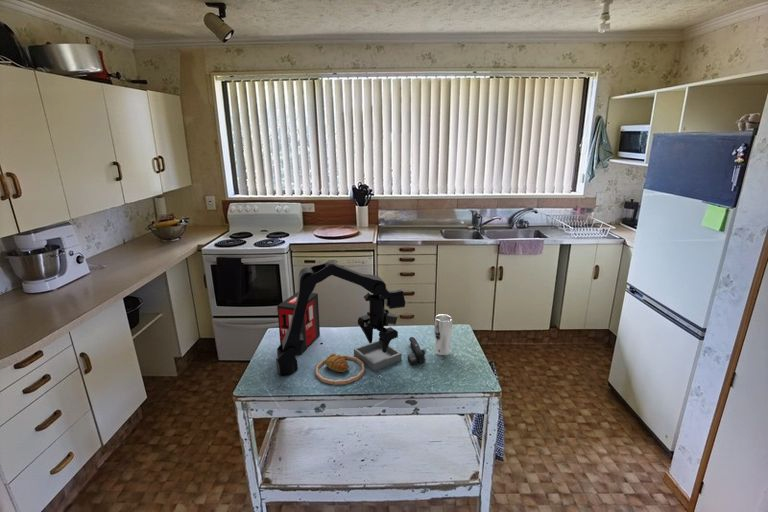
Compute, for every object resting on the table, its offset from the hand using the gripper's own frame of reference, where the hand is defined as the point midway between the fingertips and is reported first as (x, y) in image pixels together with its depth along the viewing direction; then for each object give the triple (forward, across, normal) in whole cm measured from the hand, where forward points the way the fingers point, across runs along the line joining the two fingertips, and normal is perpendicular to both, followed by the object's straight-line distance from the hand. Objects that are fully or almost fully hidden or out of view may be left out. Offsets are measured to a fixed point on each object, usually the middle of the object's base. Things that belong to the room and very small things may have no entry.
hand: (377, 347), depth 150 cm
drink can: (+5, -12, -23) cm, 26 cm away
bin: (+4, 0, 0) cm, 4 cm away
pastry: (+6, +1, +18) cm, 19 cm away
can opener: (+5, -6, -14) cm, 16 cm away
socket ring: (+4, +1, +16) cm, 17 cm away
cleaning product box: (+5, +28, +19) cm, 34 cm away
